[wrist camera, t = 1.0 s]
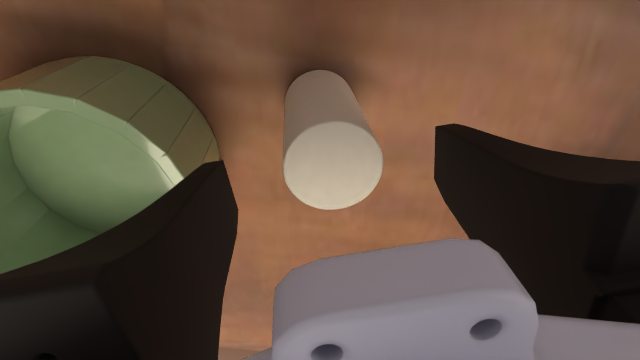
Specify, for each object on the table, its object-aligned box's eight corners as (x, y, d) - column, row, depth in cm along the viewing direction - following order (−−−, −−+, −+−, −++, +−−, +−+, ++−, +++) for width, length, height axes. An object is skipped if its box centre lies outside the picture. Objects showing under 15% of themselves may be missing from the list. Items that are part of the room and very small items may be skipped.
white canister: (367, 106, 19) (403, 170, 13) (316, 149, 20) (327, 226, 14) (323, 53, 18) (340, 99, 12) (269, 102, 19) (261, 167, 13)
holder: (262, 163, 21) (254, 222, 16) (142, 265, 24) (105, 340, 19) (83, 2, 16) (-3, 18, 11) (-37, 155, 19) (-144, 217, 14)
